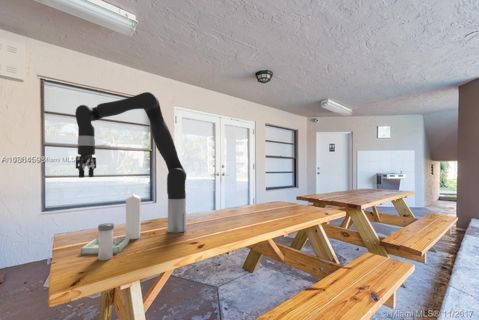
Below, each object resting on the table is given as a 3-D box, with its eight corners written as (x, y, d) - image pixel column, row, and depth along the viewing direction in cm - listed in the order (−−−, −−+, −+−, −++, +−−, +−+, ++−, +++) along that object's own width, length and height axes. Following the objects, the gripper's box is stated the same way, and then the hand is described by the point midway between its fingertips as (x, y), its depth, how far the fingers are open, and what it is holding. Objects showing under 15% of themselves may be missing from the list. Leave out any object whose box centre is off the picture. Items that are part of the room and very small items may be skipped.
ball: (123, 243, 107) (124, 236, 107) (121, 245, 104) (121, 238, 104) (116, 243, 107) (116, 236, 107) (114, 245, 104) (114, 238, 104)
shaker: (115, 254, 95) (115, 223, 95) (109, 260, 90) (110, 226, 90) (101, 255, 95) (102, 223, 95) (95, 260, 90) (95, 226, 90)
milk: (125, 239, 114) (125, 192, 114) (127, 235, 120) (127, 191, 120) (139, 238, 116) (139, 192, 116) (140, 234, 121) (140, 190, 121)
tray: (128, 243, 109) (128, 237, 109) (118, 253, 97) (118, 247, 97) (95, 244, 107) (95, 238, 107) (80, 254, 95) (80, 248, 95)
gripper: (86, 143, 117) (86, 177, 116) (101, 146, 131) (101, 176, 131) (70, 144, 116) (70, 178, 116) (86, 146, 131) (86, 177, 130)
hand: (86, 177), depth 123 cm, fingers open, 8 cm apart
